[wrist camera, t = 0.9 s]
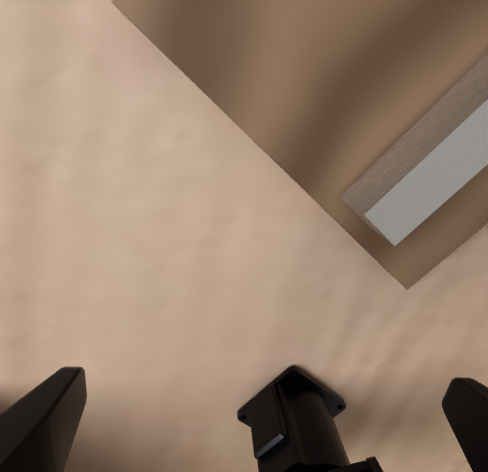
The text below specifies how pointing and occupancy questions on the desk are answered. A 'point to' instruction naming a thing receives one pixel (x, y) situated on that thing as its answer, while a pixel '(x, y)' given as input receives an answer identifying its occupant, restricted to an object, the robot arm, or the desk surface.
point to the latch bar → (427, 161)
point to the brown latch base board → (333, 93)
